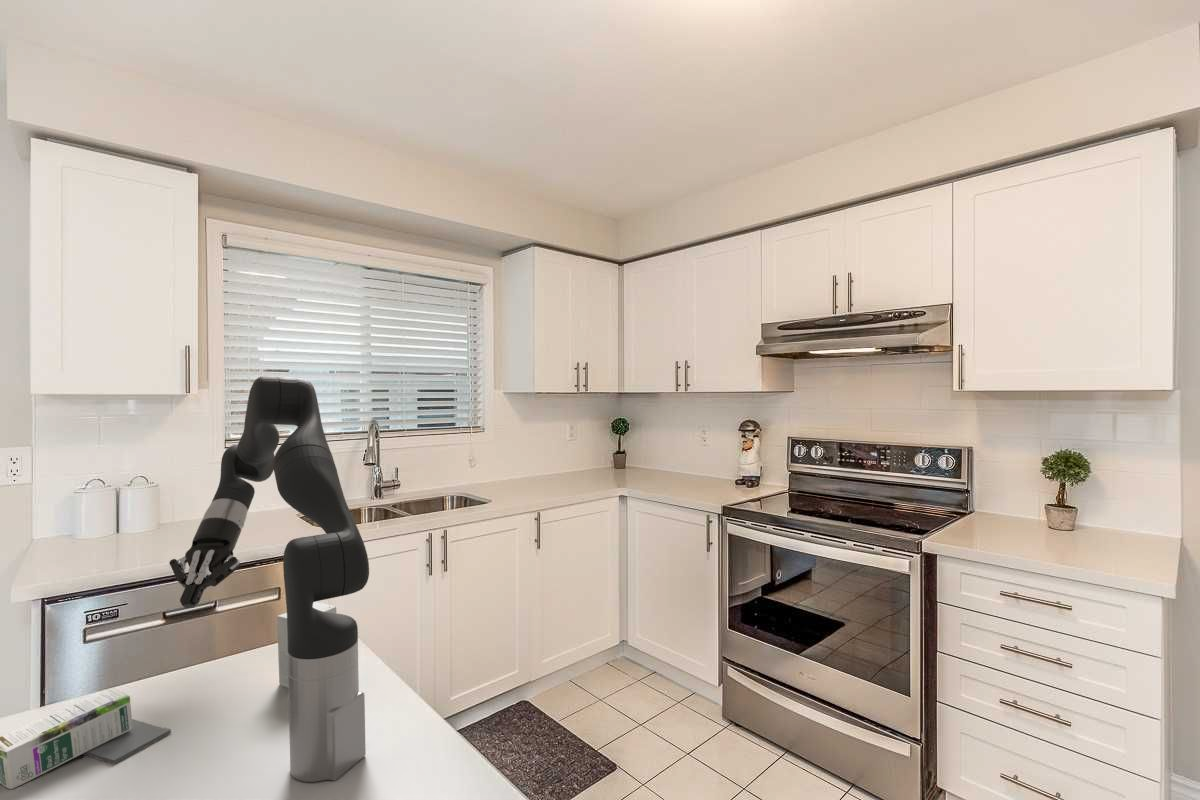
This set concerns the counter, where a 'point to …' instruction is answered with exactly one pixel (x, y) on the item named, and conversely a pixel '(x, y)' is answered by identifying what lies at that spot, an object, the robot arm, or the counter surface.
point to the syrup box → (63, 736)
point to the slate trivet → (128, 742)
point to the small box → (284, 641)
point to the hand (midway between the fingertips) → (187, 606)
